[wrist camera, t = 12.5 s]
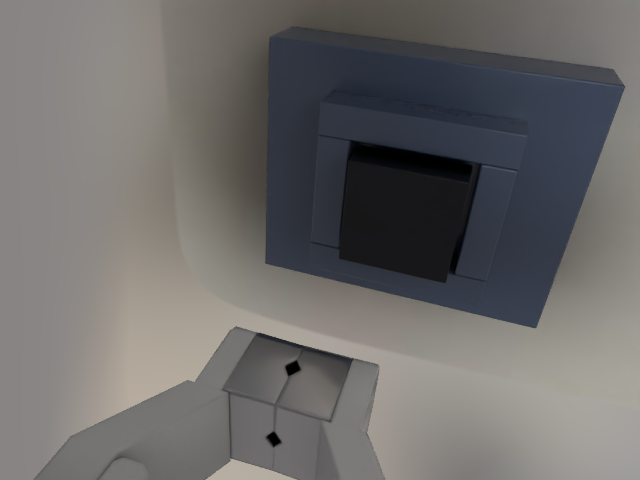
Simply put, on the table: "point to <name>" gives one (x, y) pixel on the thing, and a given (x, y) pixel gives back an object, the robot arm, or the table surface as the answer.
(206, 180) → the table surface
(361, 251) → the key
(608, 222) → the table surface
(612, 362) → the table surface
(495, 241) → the stepped blue pedestal
